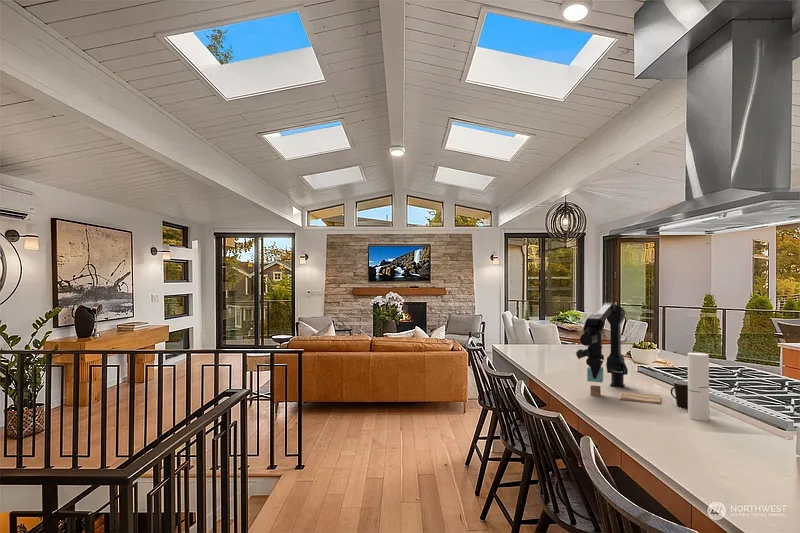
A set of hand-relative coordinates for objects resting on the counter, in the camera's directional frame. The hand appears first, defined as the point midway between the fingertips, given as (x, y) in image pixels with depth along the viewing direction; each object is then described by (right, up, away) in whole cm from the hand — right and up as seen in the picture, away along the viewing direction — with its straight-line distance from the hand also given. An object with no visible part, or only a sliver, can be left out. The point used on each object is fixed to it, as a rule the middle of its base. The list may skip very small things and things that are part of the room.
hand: (595, 377), depth 240 cm
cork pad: (+18, -8, -8) cm, 21 cm away
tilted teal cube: (0, -2, 0) cm, 2 cm away
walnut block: (0, -8, 0) cm, 8 cm away
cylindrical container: (+25, -8, -39) cm, 47 cm away
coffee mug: (+28, -8, -22) cm, 37 cm away
